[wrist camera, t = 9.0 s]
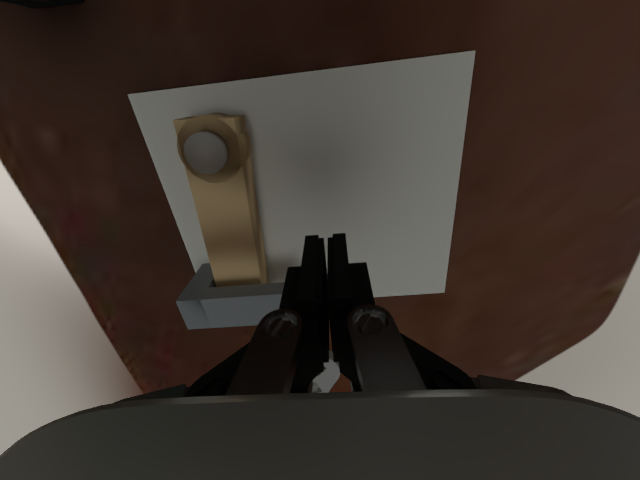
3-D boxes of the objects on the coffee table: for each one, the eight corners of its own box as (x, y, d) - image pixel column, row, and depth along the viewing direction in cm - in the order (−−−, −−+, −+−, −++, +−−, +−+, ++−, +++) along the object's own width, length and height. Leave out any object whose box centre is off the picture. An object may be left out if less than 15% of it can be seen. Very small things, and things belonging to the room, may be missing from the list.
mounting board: (134, 94, 21) (65, 96, 15) (469, 51, 19) (527, 37, 14) (212, 303, 30) (186, 350, 25) (441, 287, 28) (468, 334, 23)
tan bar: (186, 113, 20) (160, 118, 17) (246, 111, 20) (231, 115, 17) (230, 300, 28) (218, 326, 25) (273, 299, 28) (267, 325, 25)
